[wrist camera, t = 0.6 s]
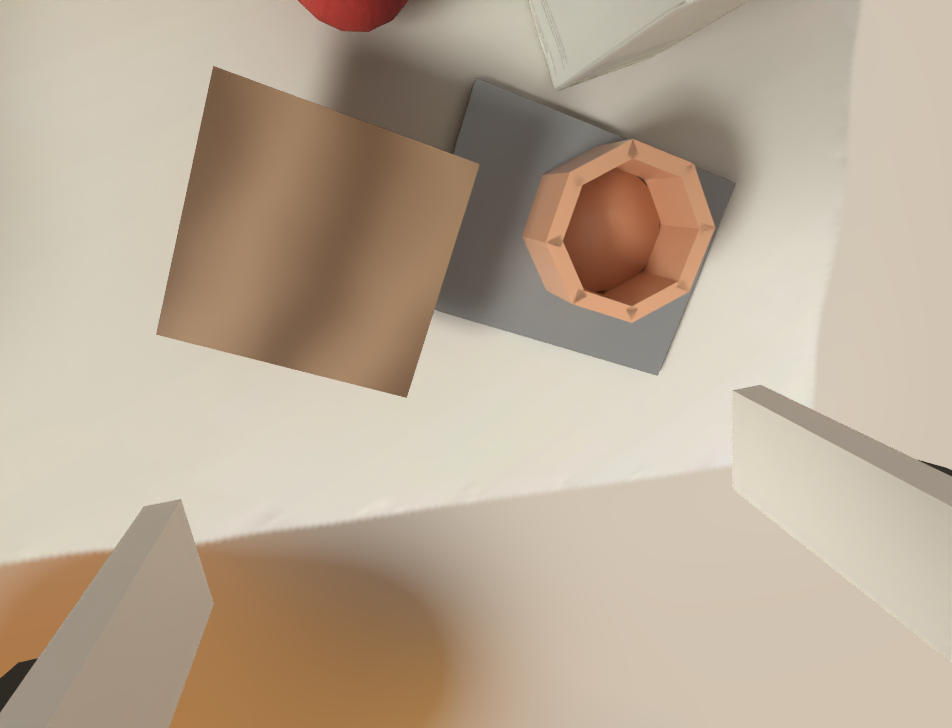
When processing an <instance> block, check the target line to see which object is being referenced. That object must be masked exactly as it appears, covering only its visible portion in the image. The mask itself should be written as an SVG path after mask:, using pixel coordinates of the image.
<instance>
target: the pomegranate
mask: <svg viewBox="0 0 952 728" xmlns="http://www.w3.org/2000/svg"><path fill="white" fill-rule="evenodd" d="M298 1H299V2H300V3H301V4H302V5H303V6H304V7H305V8H306V9H307V10H308V11H309V12H310V13H311V14H312V15H314V16H315V17H316V18H317V19H318V20H319V21H322V22H324V23H326V24H328V25H330V26H332V27H335V28H337V29H339V30H341V31H356V32H369V31H371V30H373V29H375V28H377V27H379V26H381V25H384V24H386V23H388V22H390V21H391V20H393V19H394V18H395V16H396V15H397V14H398V13H399V11H400V10H401V9H402V8H403V6H404V5H405V4H406V3H407V1H408V0H298Z"/></svg>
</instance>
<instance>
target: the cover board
mask: <svg viewBox="0 0 952 728" xmlns="http://www.w3.org/2000/svg"><path fill="white" fill-rule="evenodd" d="M479 165H480V164H478V163H475V162H473V161H470V160H467V159H465V158H462V157H459V156H456V155H454V154H451V153H448V152H446V151H443V150H440V149H437V148H435V147H432V146H429V145H426V144H424V143H421V142H418V141H416V140H413V139H410V138H407V137H405V136H402V135H399V134H397V133H394V132H391V131H388V130H386V129H383V128H380V127H378V126H375V125H372V124H369V123H367V122H364V121H361V120H359V119H356V118H353V117H350V116H348V115H345V114H342V113H340V112H337V111H334V110H331V109H329V108H326V107H323V106H320V105H318V104H315V103H312V102H310V101H307V100H304V99H301V98H299V97H296V96H293V95H291V94H288V93H285V92H282V91H280V90H277V89H274V88H272V87H269V86H266V85H263V84H261V83H258V82H255V81H253V80H250V79H247V78H244V77H242V76H239V75H236V74H234V73H231V72H228V71H225V70H223V69H220V68H217V67H214V66H213V70H212V75H211V80H210V84H209V89H208V94H207V98H206V103H205V108H204V112H203V117H202V122H201V127H200V131H199V136H198V141H197V145H196V150H195V155H194V160H193V164H192V169H191V174H190V178H189V183H188V188H187V192H186V197H185V202H184V207H183V211H182V216H181V221H180V225H179V230H178V235H177V240H176V244H175V249H174V254H173V258H172V263H171V268H170V272H169V277H168V282H167V287H166V291H165V296H164V301H163V305H162V310H161V315H160V319H159V324H158V329H157V335H161V336H165V337H168V338H172V339H176V340H180V341H184V342H188V343H192V344H196V345H200V346H204V347H208V348H212V349H216V350H220V351H224V352H228V353H232V354H236V355H240V356H244V357H248V358H252V359H256V360H260V361H264V362H267V363H271V364H275V365H279V366H283V367H287V368H291V369H295V370H299V371H303V372H307V373H311V374H315V375H319V376H323V377H327V378H331V379H335V380H339V381H343V382H347V383H351V384H355V385H359V386H363V387H366V388H370V389H374V390H378V391H382V392H386V393H390V394H394V395H398V396H402V397H406V398H407V395H408V392H409V388H410V385H411V382H412V379H413V376H414V372H415V369H416V366H417V363H418V360H419V357H420V353H421V350H422V347H423V344H424V341H425V337H426V334H427V331H428V328H429V325H430V322H431V318H432V315H433V312H434V309H435V306H436V302H437V299H438V296H439V293H440V290H441V286H442V283H443V280H444V277H445V274H446V271H447V267H448V264H449V261H450V258H451V255H452V251H453V248H454V245H455V242H456V239H457V236H458V232H459V229H460V226H461V223H462V220H463V216H464V213H465V210H466V207H467V204H468V200H469V197H470V194H471V191H472V188H473V185H474V181H475V178H476V175H477V172H478V169H479Z"/></svg>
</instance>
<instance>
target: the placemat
mask: <svg viewBox="0 0 952 728" xmlns="http://www.w3.org/2000/svg"><path fill="white" fill-rule="evenodd" d="M625 140H628V139H626V138H623V137H621V136H618V135H616V134H613V133H611V132H608V131H606V130H603V129H601V128H598V127H596V126H594V125H591V124H589V123H586V122H584V121H581V120H579V119H576V118H574V117H571V116H569V115H567V114H564V113H562V112H559V111H557V110H554V109H552V108H549V107H547V106H544V105H542V104H539V103H537V102H535V101H532V100H530V99H527V98H525V97H522V96H520V95H517V94H515V93H512V92H510V91H508V90H505V89H503V88H500V87H498V86H495V85H493V84H490V83H488V82H485V81H483V80H481V79H478V78H476V79H475V81H474V84H473V88H472V91H471V94H470V98H469V101H468V104H467V107H466V111H465V114H464V117H463V121H462V124H461V127H460V131H459V134H458V137H457V140H456V144H455V147H454V150H453V154H454V155H456V156H459V157H462V158H465V159H467V160H470V161H473V162H475V163H478V164H480V165H479V169H478V172H477V175H476V178H475V181H474V185H473V188H472V191H471V194H470V197H469V200H468V204H467V207H466V210H465V213H464V216H463V220H462V223H461V226H460V229H459V232H458V236H457V239H456V242H455V245H454V248H453V251H452V255H451V258H450V261H449V264H448V267H447V271H446V274H445V277H444V280H443V283H442V286H441V290H440V293H439V296H438V299H437V302H436V306H435V309H434V310H437V311H440V312H444V313H447V314H450V315H454V316H457V317H461V318H464V319H467V320H471V321H474V322H477V323H481V324H484V325H488V326H491V327H494V328H498V329H501V330H505V331H508V332H511V333H515V334H518V335H522V336H525V337H528V338H532V339H535V340H538V341H542V342H545V343H549V344H552V345H555V346H559V347H562V348H566V349H569V350H572V351H576V352H579V353H583V354H586V355H589V356H593V357H596V358H599V359H603V360H606V361H610V362H613V363H616V364H620V365H623V366H627V367H630V368H633V369H637V370H640V371H644V372H647V373H650V374H654V375H657V376H658V373H659V371H660V369H661V366H662V364H663V361H664V359H665V356H666V354H667V351H668V349H669V346H670V344H671V342H672V339H673V337H674V334H675V332H676V329H677V327H678V324H679V322H680V319H681V317H682V314H683V312H684V310H685V307H686V305H687V302H688V300H689V297H690V295H691V292H692V290H693V287H694V285H695V283H696V280H697V278H698V275H699V273H700V270H701V268H702V265H703V263H704V260H705V258H706V256H707V253H708V251H709V248H710V246H711V243H712V241H713V238H714V236H715V233H716V231H717V228H718V226H719V224H720V221H721V219H722V216H723V214H724V211H725V209H726V206H727V204H728V201H729V199H730V197H731V194H732V192H733V189H734V187H735V184H736V183H734V182H731V181H729V180H726V179H724V178H721V177H719V176H716V175H714V174H712V173H709V172H707V171H704V170H702V169H699V168H697V167H695V169H696V172H697V175H698V178H699V181H700V183H701V186H702V189H703V192H704V195H705V198H706V201H707V204H708V207H709V210H710V213H711V216H712V219H713V222H714V225H715V230H714V232H713V235H712V237H711V239H710V242H709V244H708V247H707V249H706V252H705V254H704V257H703V259H702V262H701V264H700V267H699V269H698V272H697V274H696V276H695V279H694V281H693V284H692V286H691V289H690V291H689V292H688V293H686V294H684V295H682V296H681V297H679V298H677V299H675V300H673V301H671V302H670V303H668V304H666V305H664V306H662V307H660V308H658V309H657V310H655V311H653V312H651V313H649V314H647V315H645V316H644V317H642V318H640V319H638V320H636V321H634V322H633V323H630V322H627V321H624V320H621V319H618V318H615V317H612V316H608V315H605V314H602V313H599V312H596V311H593V310H589V309H586V308H583V307H580V306H577V305H574V304H571V303H570V302H568V301H566V300H564V299H562V298H560V297H558V296H556V295H554V294H552V293H550V292H549V291H547V290H546V288H545V286H544V284H543V282H542V280H541V277H540V275H539V273H538V271H537V269H536V266H535V264H534V262H533V260H532V258H531V255H530V253H529V251H528V249H527V247H526V245H525V242H524V240H523V238H522V234H523V231H524V228H525V225H526V222H527V219H528V216H529V213H530V210H531V207H532V204H533V201H534V199H535V196H536V193H537V190H538V187H539V184H540V181H541V178H542V175H544V174H546V173H548V172H549V171H551V170H553V169H555V168H557V167H559V166H561V165H563V164H565V163H566V162H568V161H570V160H572V159H574V158H576V157H578V156H580V155H582V154H583V153H585V152H587V151H589V150H591V149H593V148H595V147H597V146H600V145H605V144H610V143H615V142H620V141H625ZM596 292H600V291H596Z"/></svg>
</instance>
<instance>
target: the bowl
mask: <svg viewBox="0 0 952 728" xmlns="http://www.w3.org/2000/svg"><path fill="white" fill-rule="evenodd" d="M714 230H715V225H714V222H713V219H712V216H711V213H710V210H709V207H708V204H707V201H706V198H705V195H704V192H703V189H702V186H701V183H700V181H699V178H698V175H697V172H696V169H695V166H694V163H691V162H689V161H686V160H684V159H681V158H679V157H676V156H674V155H672V154H669V153H667V152H664V151H662V150H659V149H657V148H654V147H652V146H650V145H647V144H645V143H642V142H640V141H637V140H635V139H630V140H625V141H620V142H615V143H610V144H605V145H600V146H597V147H595V148H593V149H591V150H589V151H587V152H585V153H583V154H582V155H580V156H578V157H576V158H574V159H572V160H570V161H568V162H566V163H565V164H563V165H561V166H559V167H557V168H555V169H553V170H551V171H549V172H548V173H546V174H544V175H542V178H541V181H540V184H539V187H538V190H537V193H536V196H535V199H534V201H533V204H532V207H531V210H530V213H529V216H528V219H527V222H526V225H525V228H524V231H523V234H522V238H523V240H524V242H525V245H526V247H527V249H528V251H529V253H530V255H531V258H532V260H533V262H534V264H535V266H536V269H537V271H538V273H539V275H540V277H541V280H542V282H543V284H544V286H545V288H546V290H547V291H549V292H550V293H552V294H554V295H556V296H558V297H560V298H562V299H564V300H566V301H568V302H570V303H571V304H574V305H577V306H580V307H583V308H586V309H589V310H593V311H596V312H599V313H602V314H605V315H608V316H612V317H615V318H618V319H621V320H624V321H627V322H630V323H633V322H634V321H636V320H638V319H640V318H642V317H644V316H645V315H647V314H649V313H651V312H653V311H655V310H657V309H658V308H660V307H662V306H664V305H666V304H668V303H670V302H671V301H673V300H675V299H677V298H679V297H681V296H682V295H684V294H686V293H688V292H689V291H690V289H691V286H692V284H693V281H694V279H695V276H696V274H697V272H698V269H699V267H700V264H701V262H702V259H703V257H704V254H705V252H706V249H707V247H708V244H709V242H710V239H711V237H712V235H713V232H714ZM596 291H600V292H596Z"/></svg>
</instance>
